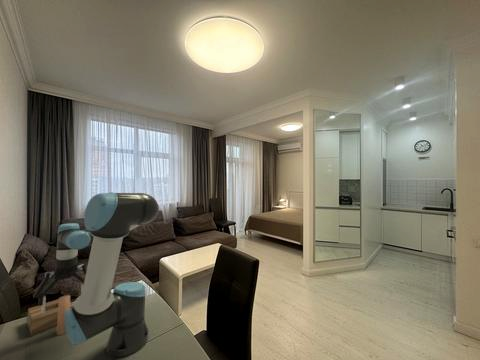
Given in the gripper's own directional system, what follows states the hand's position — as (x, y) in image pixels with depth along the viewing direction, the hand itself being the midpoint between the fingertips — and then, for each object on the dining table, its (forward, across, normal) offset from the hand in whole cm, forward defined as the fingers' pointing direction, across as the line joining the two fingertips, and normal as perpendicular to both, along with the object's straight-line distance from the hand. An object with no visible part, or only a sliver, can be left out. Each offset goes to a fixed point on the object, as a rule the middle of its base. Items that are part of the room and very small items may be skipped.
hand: (63, 305), depth 89 cm
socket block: (+12, +2, -14) cm, 18 cm away
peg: (+11, 0, 0) cm, 11 cm away
